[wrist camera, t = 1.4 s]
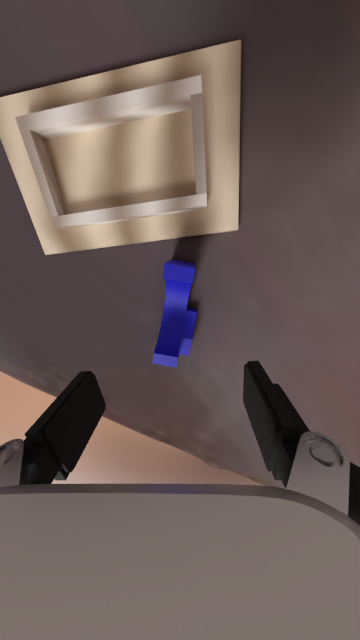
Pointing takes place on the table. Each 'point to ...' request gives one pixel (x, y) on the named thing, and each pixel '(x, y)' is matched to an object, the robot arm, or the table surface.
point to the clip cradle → (130, 151)
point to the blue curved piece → (176, 314)
